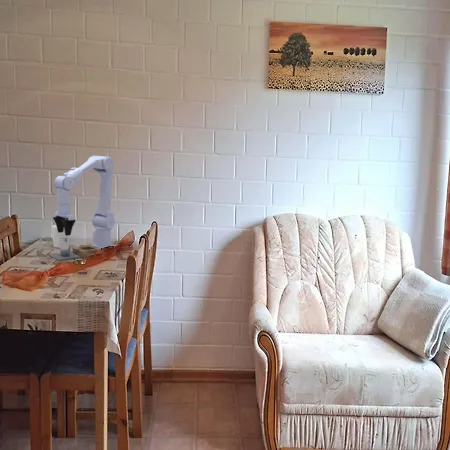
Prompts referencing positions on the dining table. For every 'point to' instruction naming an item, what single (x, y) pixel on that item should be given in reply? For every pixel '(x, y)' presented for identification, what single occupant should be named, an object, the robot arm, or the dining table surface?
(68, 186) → the robot arm
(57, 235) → the white cup
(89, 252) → the socket block
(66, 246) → the steel peg
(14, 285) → the dining table surface
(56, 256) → the slate mat
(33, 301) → the dining table surface
